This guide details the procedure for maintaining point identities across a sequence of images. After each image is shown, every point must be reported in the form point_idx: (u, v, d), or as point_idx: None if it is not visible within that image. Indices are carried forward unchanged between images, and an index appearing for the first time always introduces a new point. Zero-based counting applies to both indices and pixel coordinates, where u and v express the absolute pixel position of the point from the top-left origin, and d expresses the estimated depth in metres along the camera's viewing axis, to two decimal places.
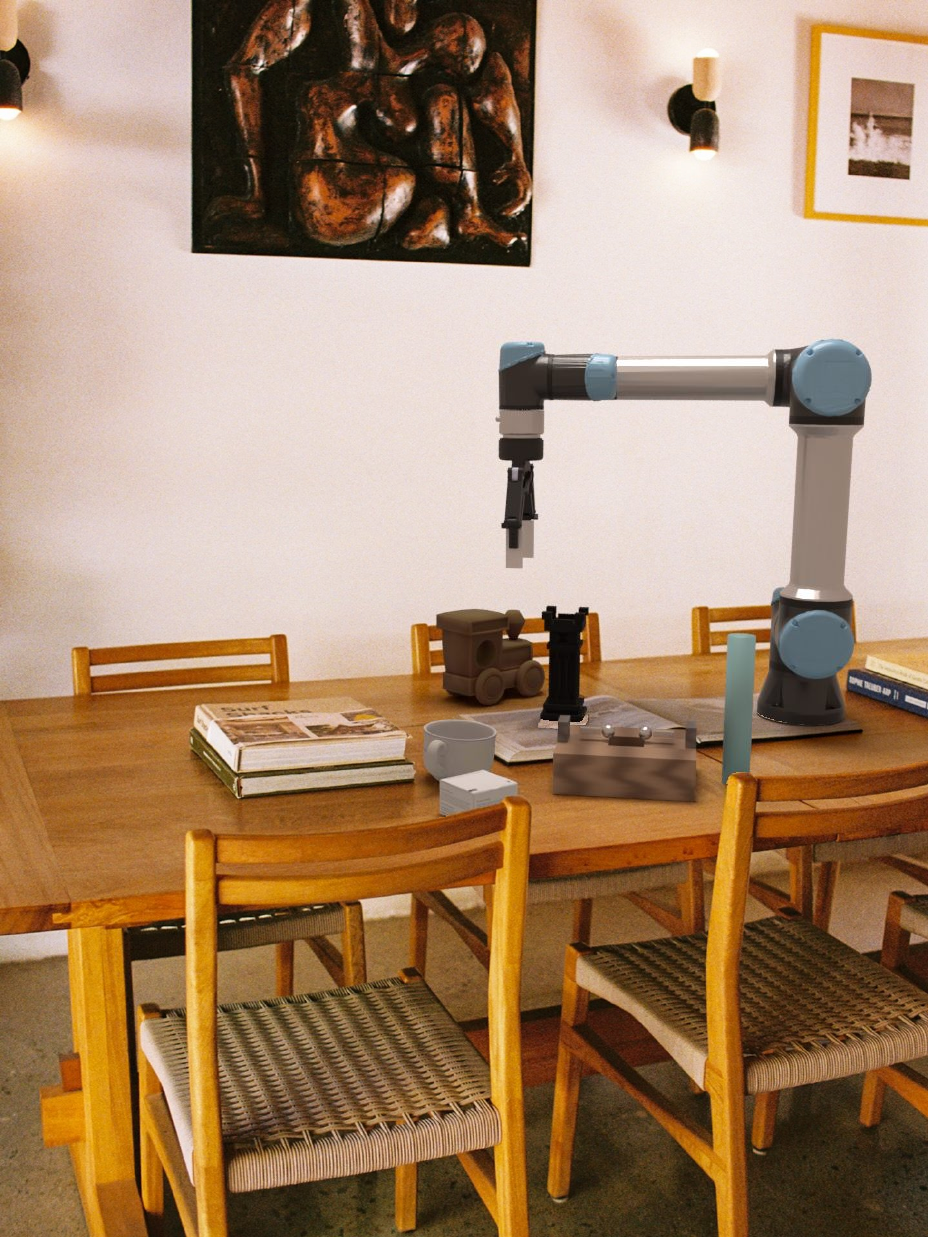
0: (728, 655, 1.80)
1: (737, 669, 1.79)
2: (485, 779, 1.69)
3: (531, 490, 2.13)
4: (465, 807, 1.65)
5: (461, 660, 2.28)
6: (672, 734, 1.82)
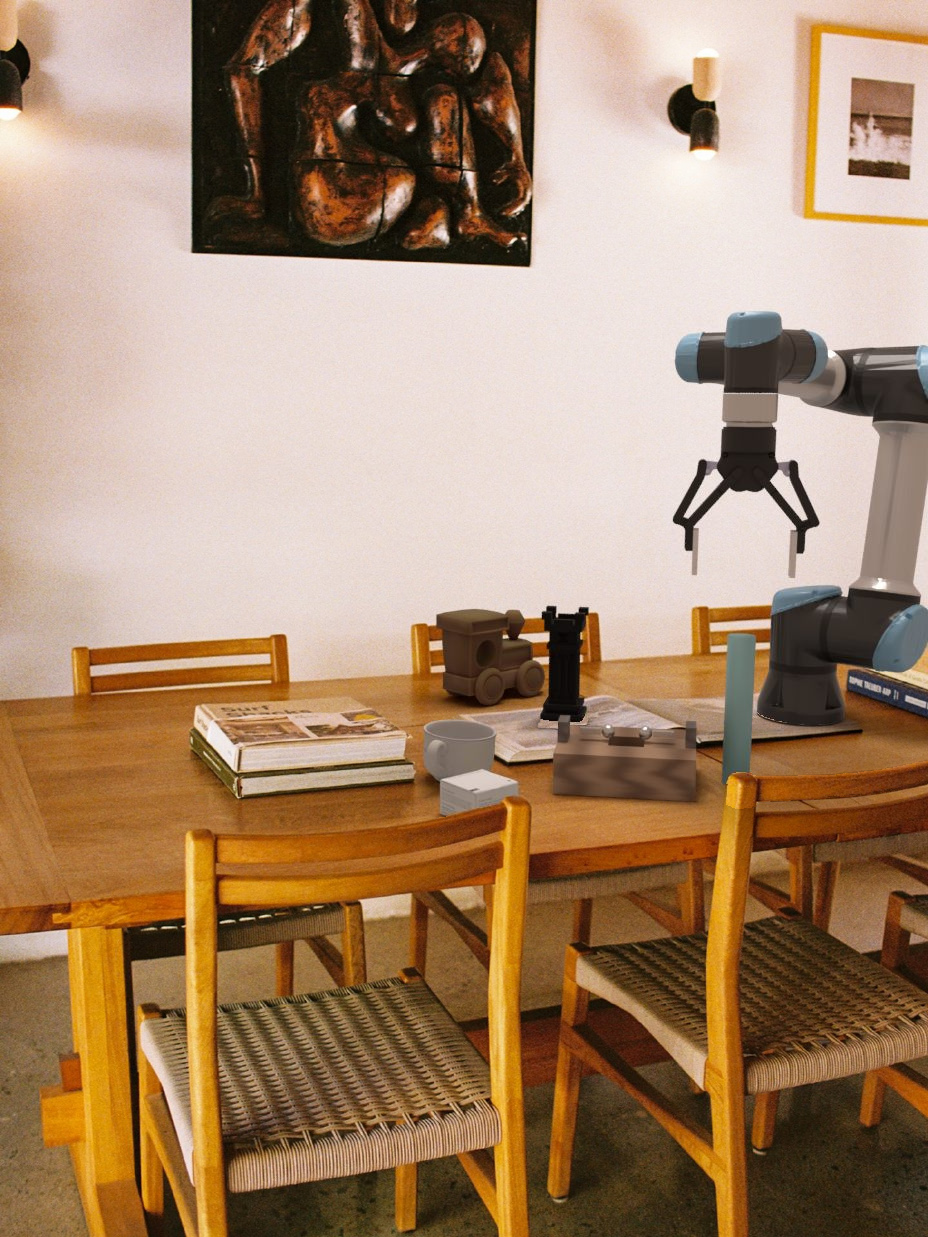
0: (728, 655, 1.80)
1: (737, 669, 1.79)
2: (485, 778, 1.70)
3: (767, 491, 1.75)
4: (467, 807, 1.65)
5: (461, 660, 2.28)
6: (672, 734, 1.82)
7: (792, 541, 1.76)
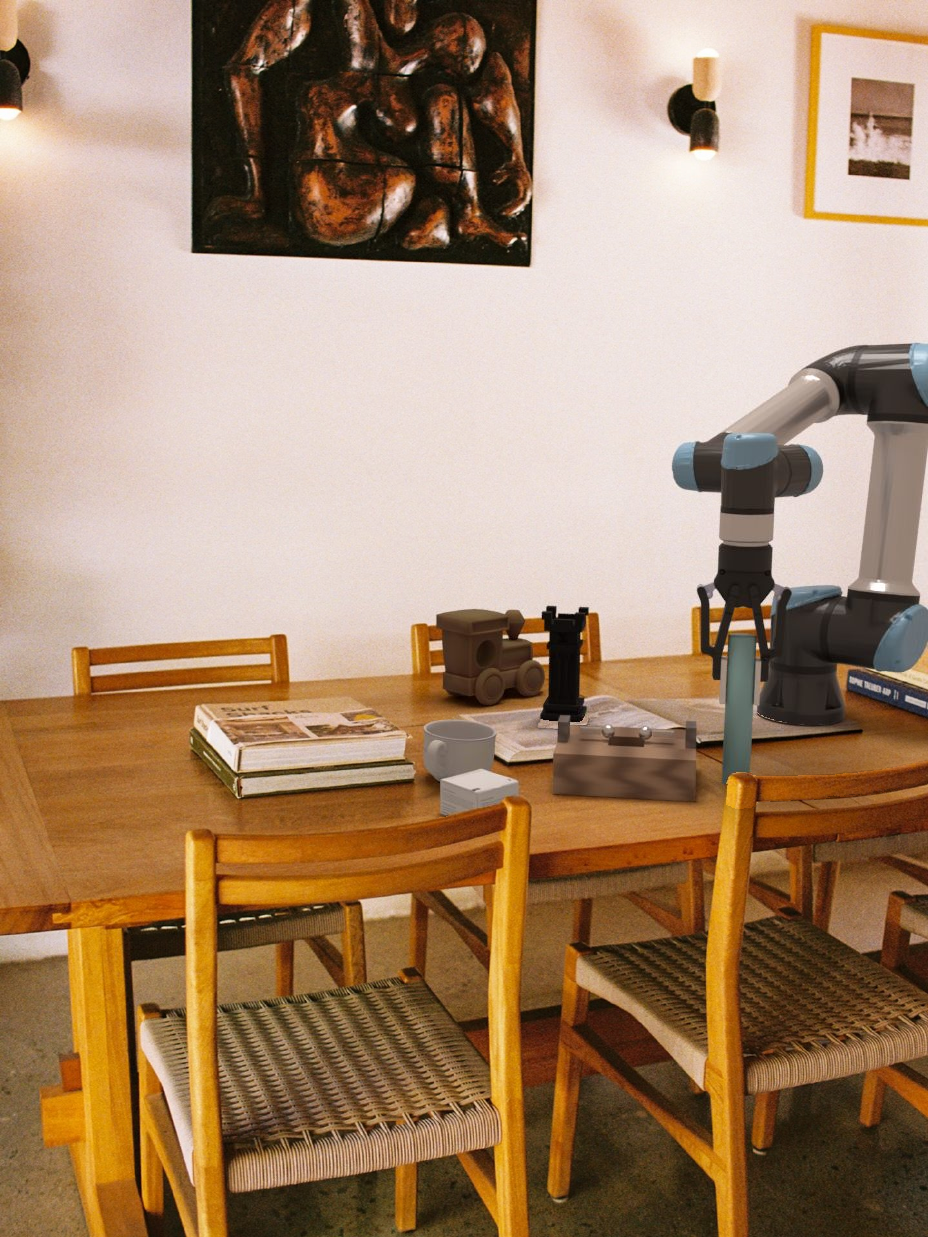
0: (729, 655, 1.80)
1: (738, 669, 1.79)
2: (486, 778, 1.70)
3: None
4: (468, 807, 1.66)
5: (461, 660, 2.28)
6: (672, 734, 1.82)
7: (756, 670, 1.80)
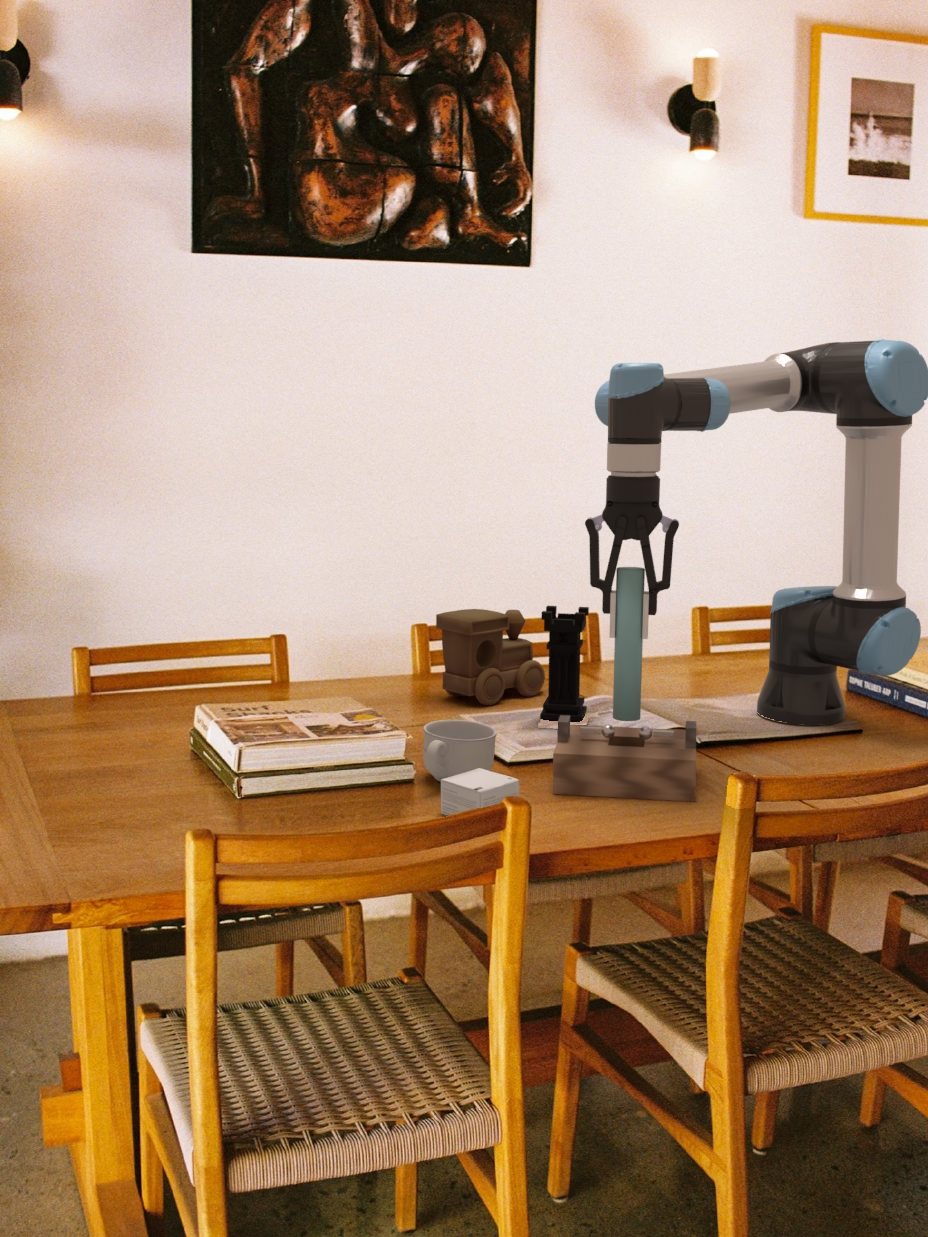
0: (617, 588, 1.79)
1: (625, 601, 1.78)
2: (486, 777, 1.70)
3: (640, 543, 1.77)
4: (471, 806, 1.66)
5: (461, 661, 2.28)
6: (672, 734, 1.82)
7: (644, 603, 1.79)
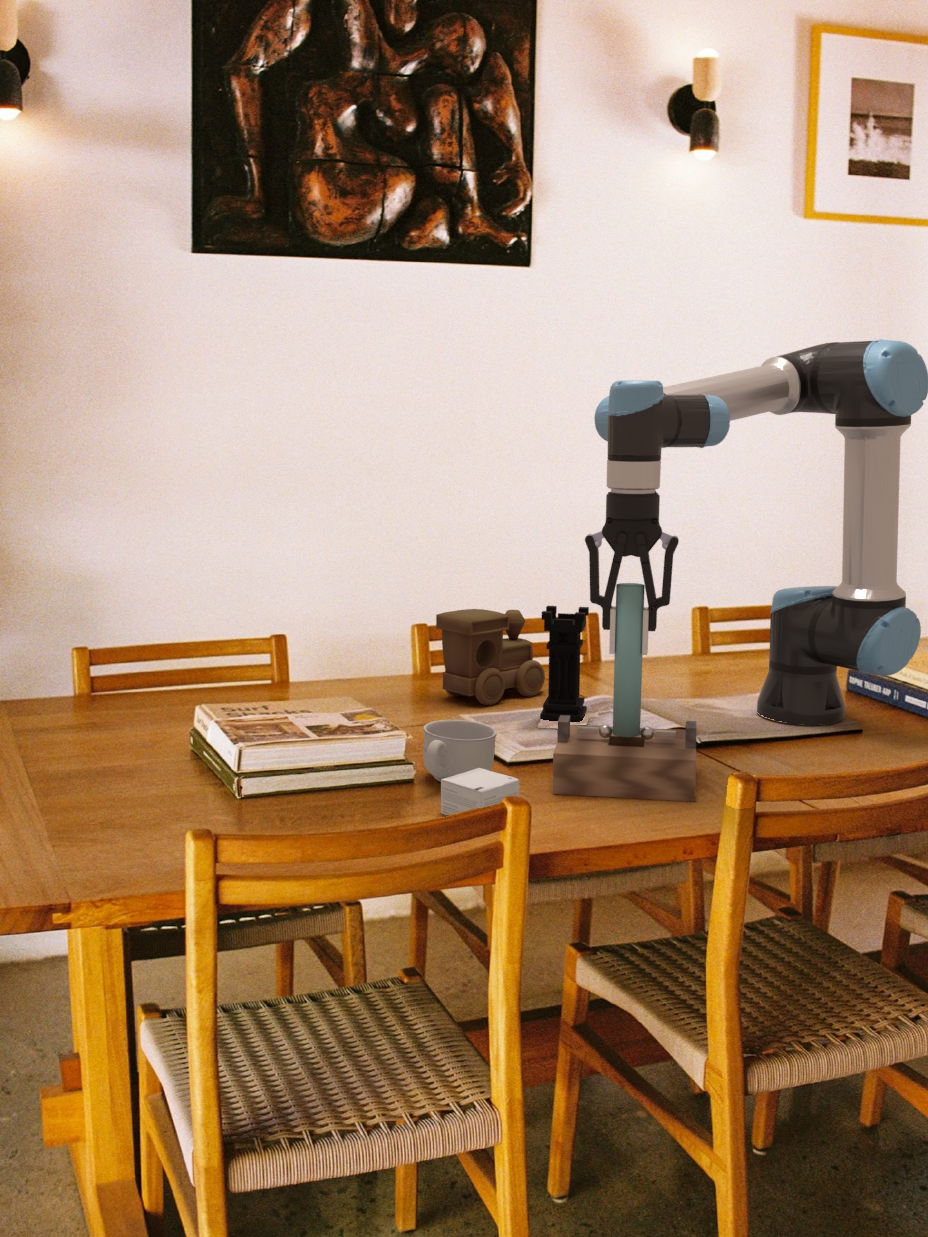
0: (617, 604, 1.80)
1: (625, 618, 1.79)
2: (486, 777, 1.70)
3: (640, 559, 1.77)
4: (471, 806, 1.66)
5: (461, 661, 2.28)
6: (674, 734, 1.82)
7: (643, 619, 1.79)
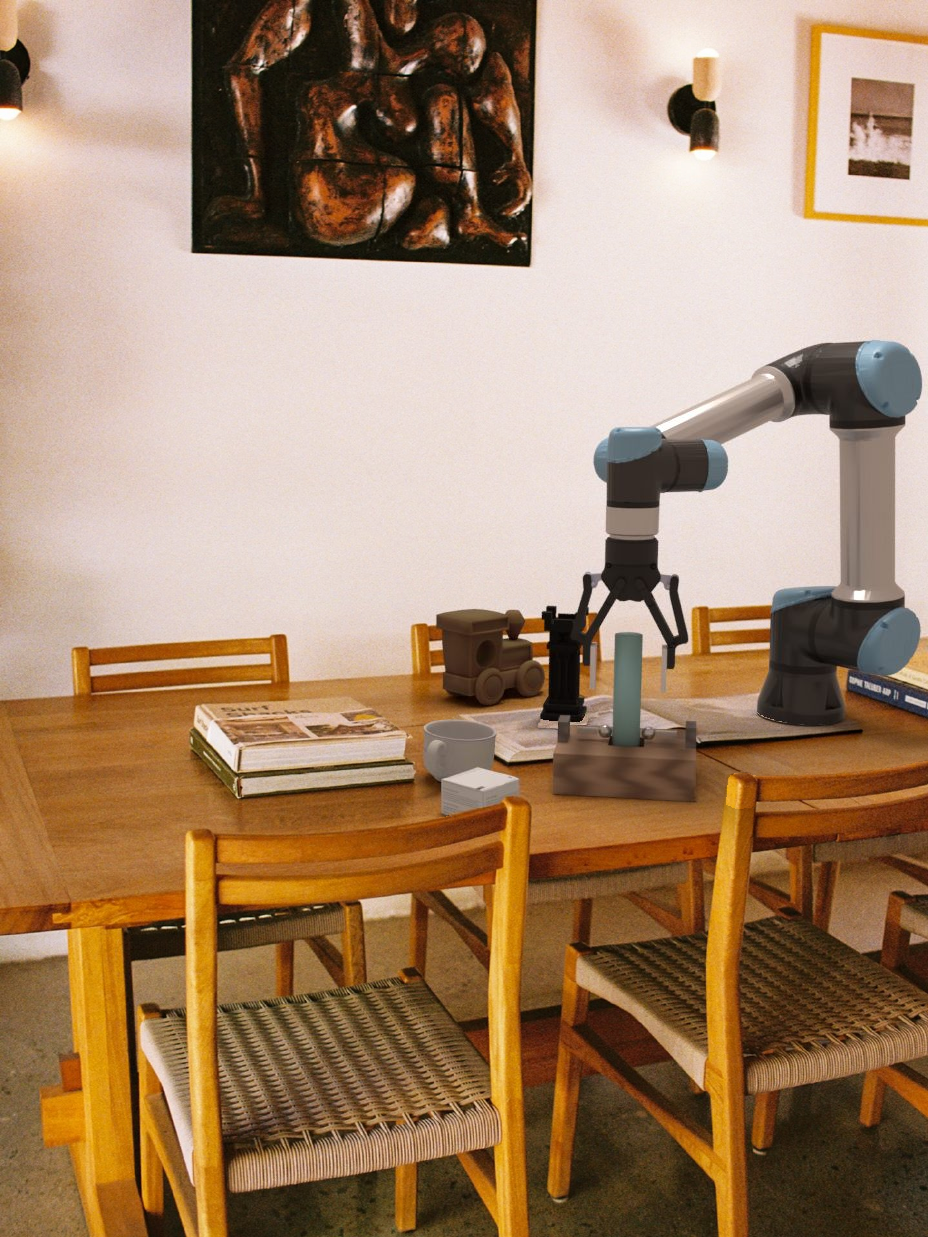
0: (615, 654, 1.81)
1: (624, 667, 1.80)
2: (486, 776, 1.71)
3: (645, 603, 1.78)
4: (473, 805, 1.66)
5: (461, 661, 2.28)
6: (675, 734, 1.82)
7: (662, 657, 1.79)
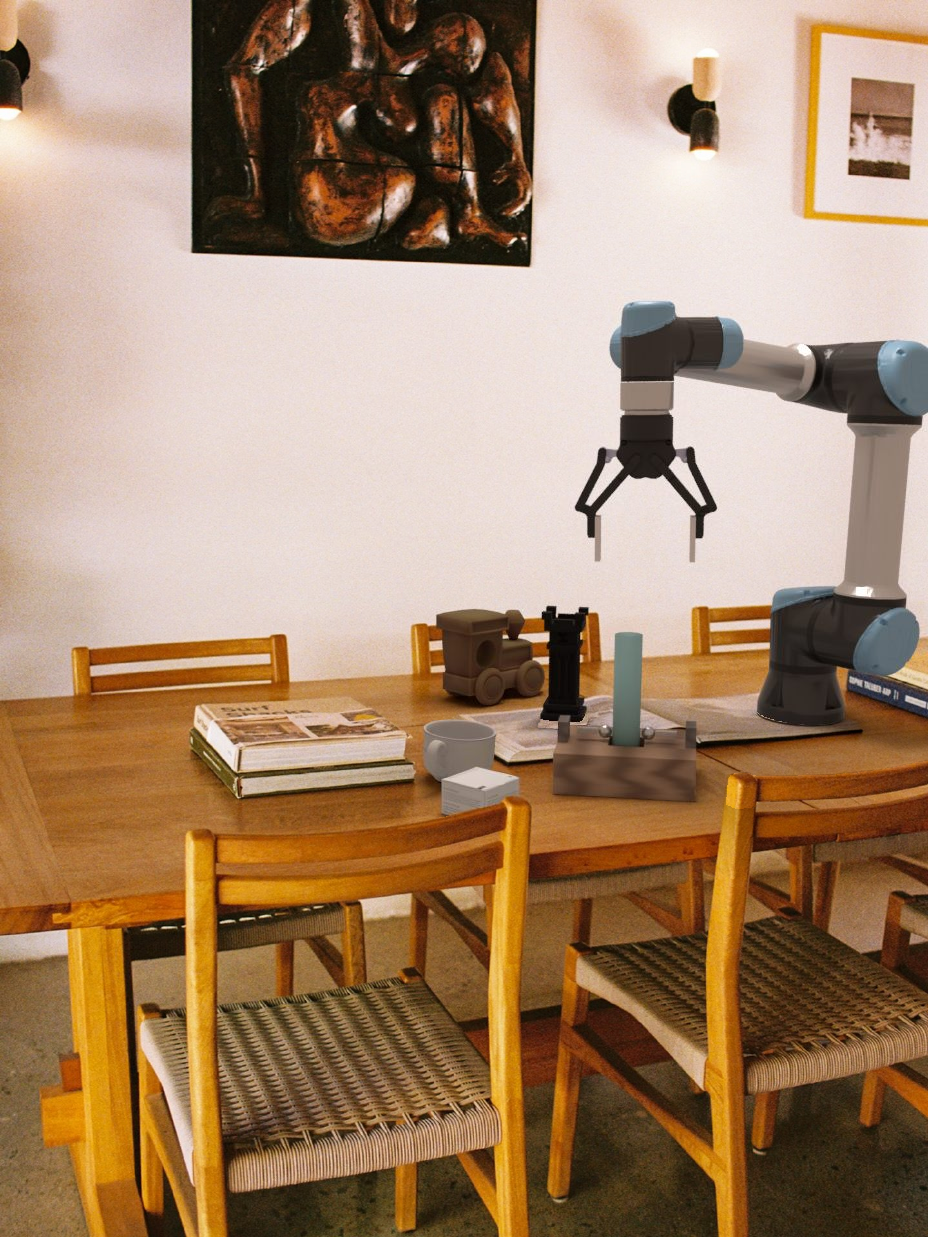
0: (615, 654, 1.81)
1: (624, 667, 1.80)
2: (486, 776, 1.71)
3: None
4: (474, 805, 1.66)
5: (461, 661, 2.28)
6: (675, 734, 1.82)
7: (691, 526, 1.79)
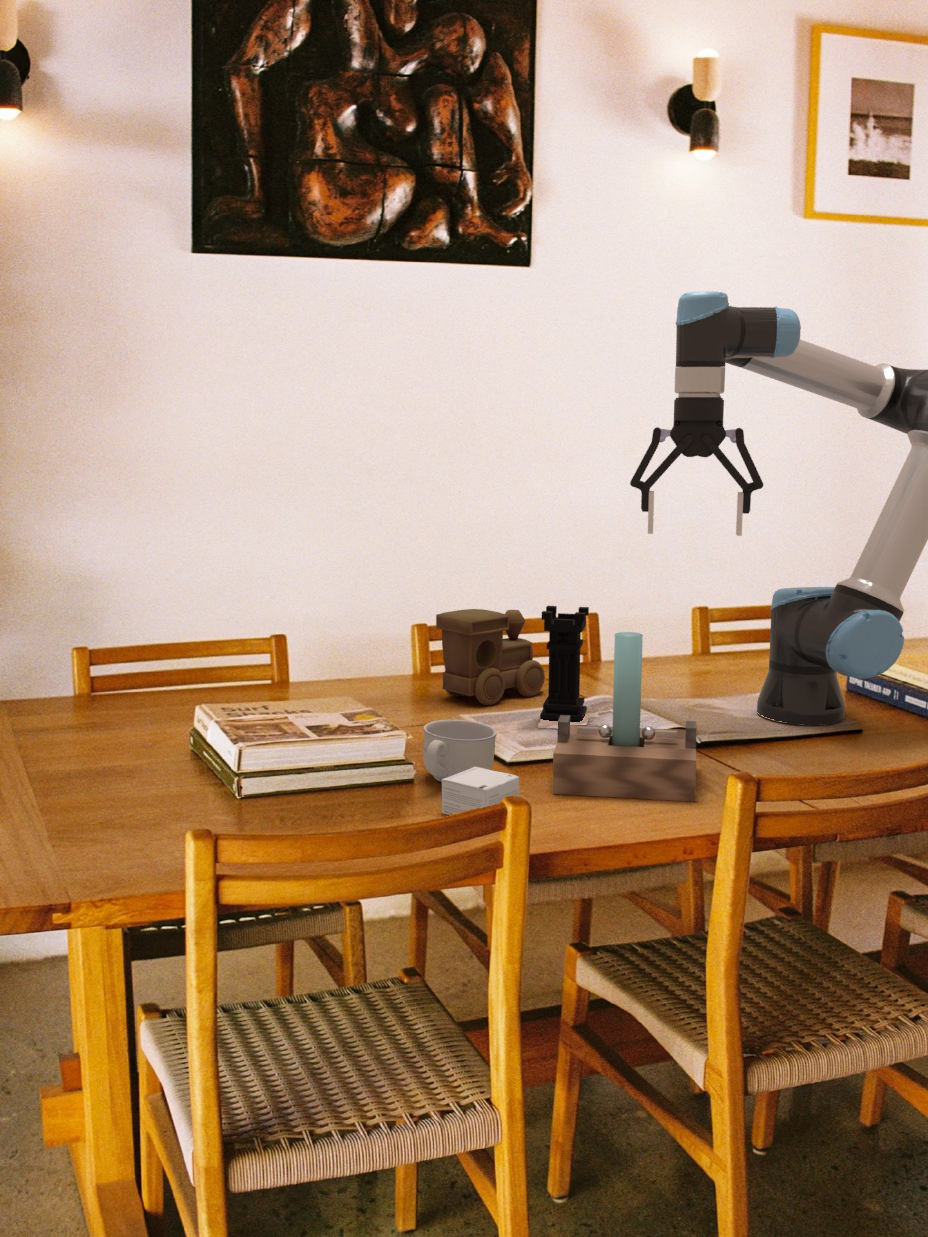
0: (615, 654, 1.81)
1: (624, 667, 1.80)
2: (486, 775, 1.71)
3: None
4: (476, 804, 1.66)
5: (461, 661, 2.28)
6: (675, 734, 1.82)
7: (738, 502, 1.92)
